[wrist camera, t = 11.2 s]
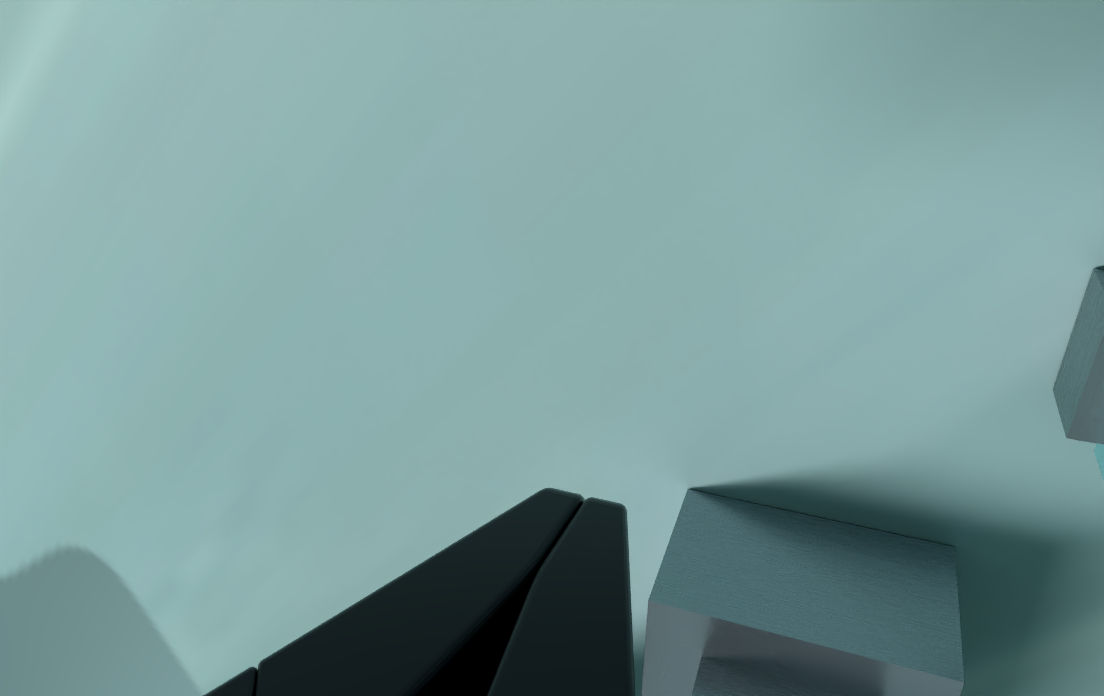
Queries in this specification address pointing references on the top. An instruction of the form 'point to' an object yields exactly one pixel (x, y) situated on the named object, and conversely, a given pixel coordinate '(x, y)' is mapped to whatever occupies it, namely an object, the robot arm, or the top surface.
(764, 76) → the top surface
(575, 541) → the robot arm
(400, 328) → the top surface
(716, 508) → the grey piece
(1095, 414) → the rail
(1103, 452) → the carriage
